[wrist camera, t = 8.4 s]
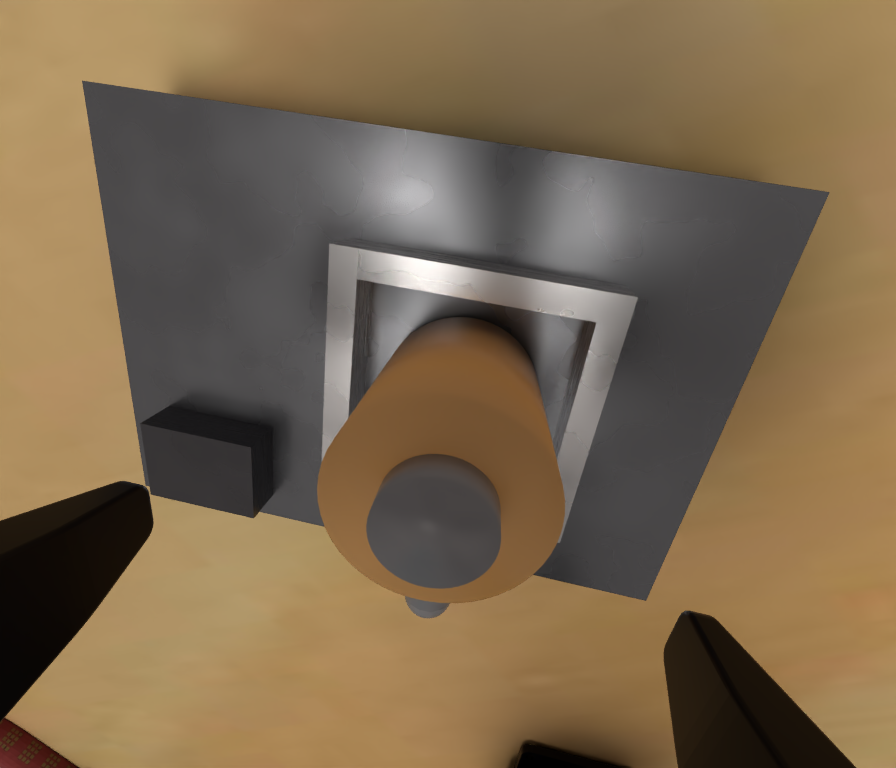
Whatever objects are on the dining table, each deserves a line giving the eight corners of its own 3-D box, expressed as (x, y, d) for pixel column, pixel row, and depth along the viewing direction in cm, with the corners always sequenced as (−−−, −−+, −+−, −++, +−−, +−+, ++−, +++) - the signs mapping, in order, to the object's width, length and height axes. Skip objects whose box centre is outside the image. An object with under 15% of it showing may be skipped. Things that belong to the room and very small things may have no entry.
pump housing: (552, 329, 13) (602, 438, 7) (512, 515, 16) (523, 719, 10) (391, 306, 14) (300, 391, 7) (377, 493, 16) (299, 677, 10)
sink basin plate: (761, 191, 14) (872, 192, 10) (626, 535, 20) (656, 636, 15) (170, 102, 16) (29, 67, 11) (201, 442, 22) (115, 508, 17)
